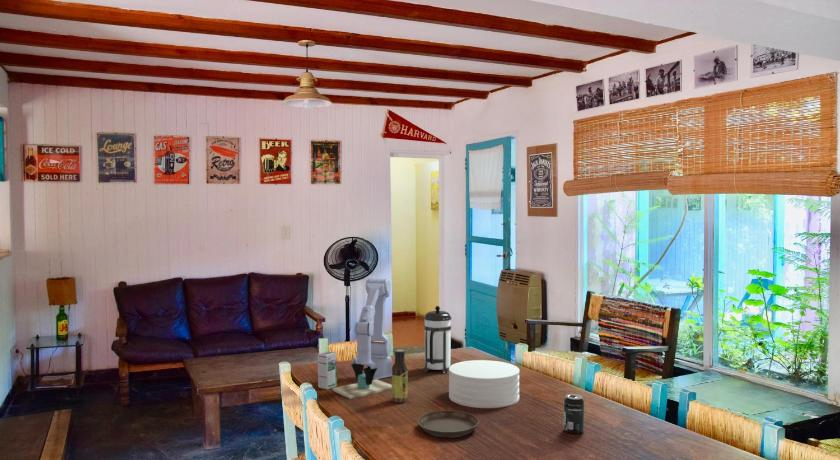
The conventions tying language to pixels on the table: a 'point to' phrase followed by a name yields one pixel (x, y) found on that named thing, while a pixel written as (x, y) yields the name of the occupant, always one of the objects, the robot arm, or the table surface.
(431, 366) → the coffee press
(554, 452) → the table surface
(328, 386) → the syrup box
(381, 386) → the post board
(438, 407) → the table surface
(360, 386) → the teal cube
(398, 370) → the sauce bottle
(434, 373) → the table surface
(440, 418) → the plant saucer
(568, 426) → the beverage can
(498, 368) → the plate stack
